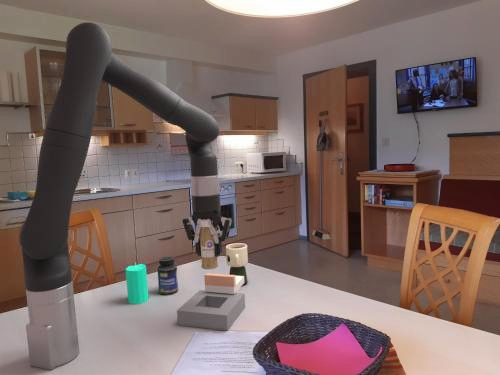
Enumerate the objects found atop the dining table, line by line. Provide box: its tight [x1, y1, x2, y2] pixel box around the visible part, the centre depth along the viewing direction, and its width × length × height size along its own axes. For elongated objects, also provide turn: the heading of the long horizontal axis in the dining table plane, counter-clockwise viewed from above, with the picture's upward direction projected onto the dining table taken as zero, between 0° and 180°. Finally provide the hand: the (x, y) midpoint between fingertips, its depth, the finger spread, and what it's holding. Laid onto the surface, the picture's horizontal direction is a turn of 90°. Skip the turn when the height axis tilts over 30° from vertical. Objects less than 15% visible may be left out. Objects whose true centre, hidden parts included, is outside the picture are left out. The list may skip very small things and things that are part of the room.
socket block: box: [176, 289, 246, 331], centre depth 104 cm, size 14×14×4 cm
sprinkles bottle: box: [200, 219, 219, 270], centre depth 102 cm, size 5×5×14 cm
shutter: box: [203, 272, 245, 294], centre depth 113 cm, size 9×9×5 cm
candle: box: [125, 262, 149, 305], centre depth 116 cm, size 6×6×12 cm
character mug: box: [225, 242, 249, 284], centre depth 126 cm, size 11×7×13 cm, turn 2°
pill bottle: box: [157, 256, 179, 296], centre depth 122 cm, size 6×6×11 cm
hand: (209, 255), depth 102 cm, fingers closed on sprinkles bottle, 4 cm apart
